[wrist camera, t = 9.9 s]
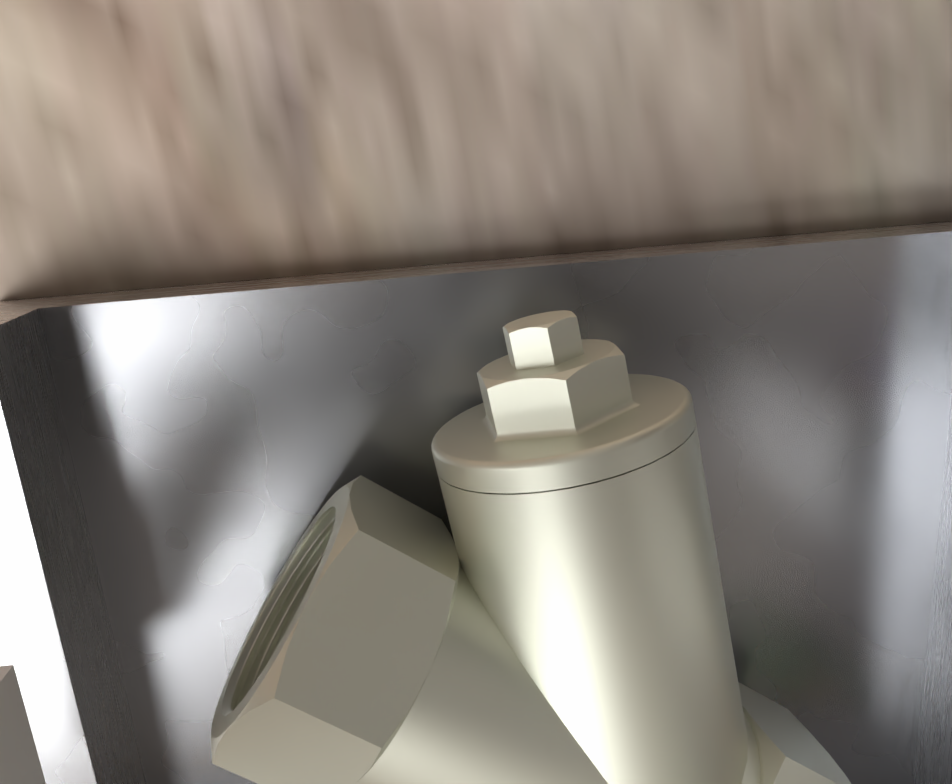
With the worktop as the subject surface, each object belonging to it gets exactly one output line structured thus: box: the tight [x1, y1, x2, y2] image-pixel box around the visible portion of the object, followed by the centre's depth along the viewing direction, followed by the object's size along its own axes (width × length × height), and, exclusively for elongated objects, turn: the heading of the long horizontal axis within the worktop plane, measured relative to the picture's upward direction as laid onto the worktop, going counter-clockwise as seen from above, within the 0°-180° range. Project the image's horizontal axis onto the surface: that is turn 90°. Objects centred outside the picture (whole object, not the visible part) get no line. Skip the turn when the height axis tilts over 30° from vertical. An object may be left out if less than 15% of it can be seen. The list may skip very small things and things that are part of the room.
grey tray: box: [0, 222, 952, 784], centre depth 12 cm, size 13×15×6 cm
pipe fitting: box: [211, 310, 851, 784], centre depth 11 cm, size 8×4×7 cm
